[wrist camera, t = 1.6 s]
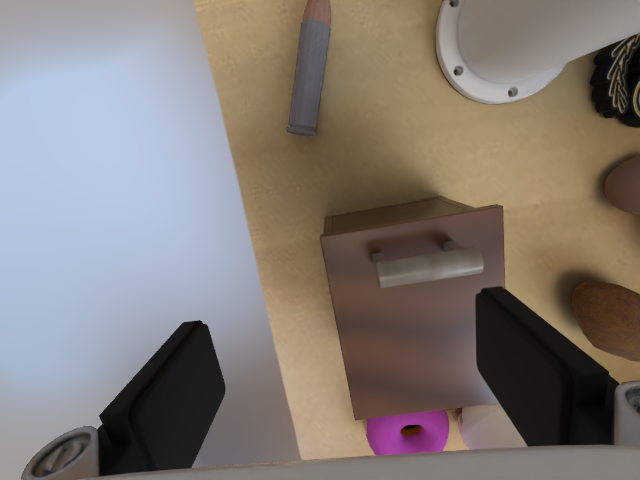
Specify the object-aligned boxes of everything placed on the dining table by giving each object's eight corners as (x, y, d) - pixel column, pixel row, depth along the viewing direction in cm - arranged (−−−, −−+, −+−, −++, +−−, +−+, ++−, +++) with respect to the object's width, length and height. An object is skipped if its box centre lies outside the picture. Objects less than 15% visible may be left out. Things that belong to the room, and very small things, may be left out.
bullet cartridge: (290, 133, 30) (318, 137, 30) (282, 129, 27) (313, 134, 27) (306, 7, 28) (338, 10, 27) (299, -12, 25) (334, -8, 24)
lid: (320, 234, 22) (317, 254, 17) (497, 203, 21) (545, 217, 16) (354, 412, 26) (359, 468, 21) (502, 395, 25) (542, 449, 20)
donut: (429, 449, 40) (440, 485, 36) (355, 437, 40) (358, 471, 36) (450, 388, 38) (466, 418, 33) (372, 374, 38) (377, 403, 33)
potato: (606, 351, 36) (670, 396, 29) (531, 305, 34) (580, 341, 28) (650, 308, 34) (730, 345, 27) (573, 258, 33) (636, 284, 26)
